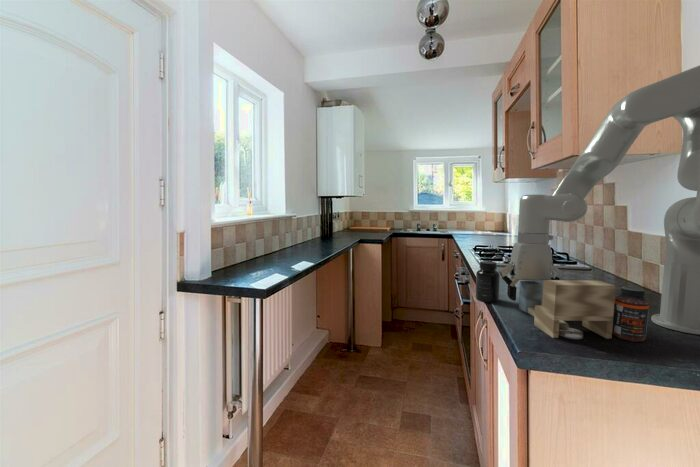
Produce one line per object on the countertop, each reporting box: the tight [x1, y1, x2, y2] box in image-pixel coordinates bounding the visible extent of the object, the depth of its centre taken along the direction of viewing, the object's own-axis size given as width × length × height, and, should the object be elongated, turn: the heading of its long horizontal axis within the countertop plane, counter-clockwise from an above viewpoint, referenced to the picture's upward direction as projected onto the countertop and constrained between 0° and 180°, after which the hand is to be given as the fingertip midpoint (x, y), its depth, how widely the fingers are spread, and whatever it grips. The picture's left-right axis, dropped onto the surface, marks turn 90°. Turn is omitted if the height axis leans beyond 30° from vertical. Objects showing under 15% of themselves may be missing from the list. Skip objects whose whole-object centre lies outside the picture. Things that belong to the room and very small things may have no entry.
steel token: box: [559, 326, 584, 340], centre depth 77 cm, size 5×5×1 cm
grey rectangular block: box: [518, 280, 569, 328], centre depth 88 cm, size 4×17×8 cm, turn 179°
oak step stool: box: [533, 279, 616, 339], centre depth 79 cm, size 13×8×12 cm, turn 89°
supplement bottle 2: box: [612, 286, 650, 343], centre depth 75 cm, size 6×6×11 cm
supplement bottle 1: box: [475, 260, 501, 304], centre depth 105 cm, size 7×7×12 cm
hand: (529, 299), depth 95 cm, fingers open, 9 cm apart
